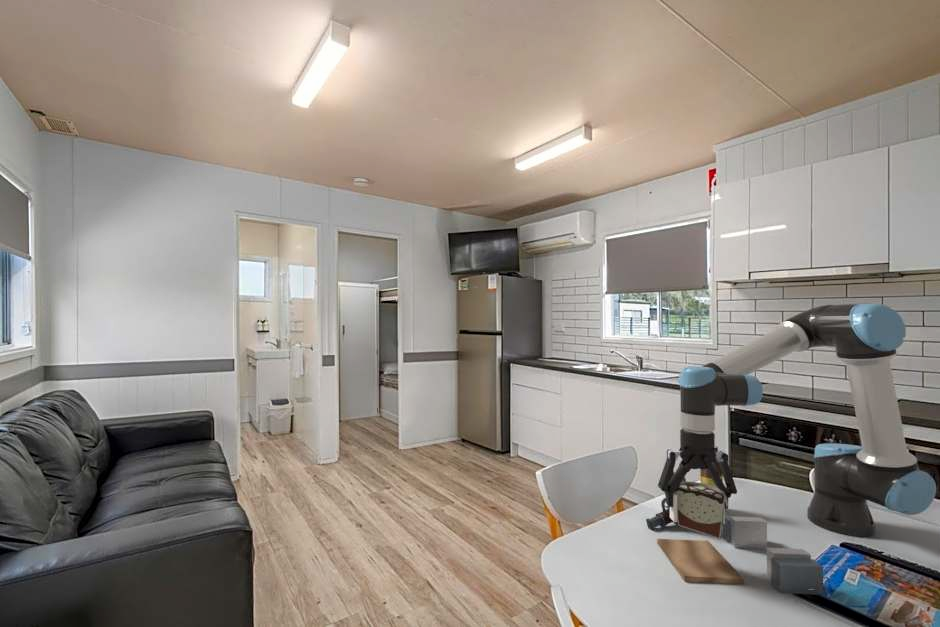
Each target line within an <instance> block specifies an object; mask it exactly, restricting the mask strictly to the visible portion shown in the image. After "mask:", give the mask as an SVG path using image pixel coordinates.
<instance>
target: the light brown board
mask: <svg viewBox="0 0 940 627" xmlns="http://www.w3.org/2000/svg"><path fill="white" fill-rule="evenodd" d="M656 543H657V544H656V545H658V546H659V548H660V549H661V551H662V552H663V554H664V555H665V556H666V558H667V560H669V562H670V563H671V565H672V566H673V568H674V569H675V570H676V572H677V574H678V575H679V576H680V578H681V579H682V580H683V581H684V582H685V583H687V582H688V583H690V582H691V583H710V584H711V583H712V584H732V585H735V584H736V585H745V578H744V577H743V576H742V574H740V573H739V571H737V570H736V569H735V568H734V566H733V565H732V564H731V563H730V562H729V561H728V560H727V559H726V558H725V557H724V556H723V554H721V553H720V552H719V550H717V549H716V547H715V546H713V544H712V543H711V542H710V541H709V540H697V539H675V538H674V539H672V538H657V539H656Z"/></svg>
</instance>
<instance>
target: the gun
mask: <svg viewBox="0 0 940 627" xmlns="http://www.w3.org/2000/svg"><path fill="white" fill-rule="evenodd" d="M674 473H675V471H674V469H673V472H672V475H671V478H672V476H673V475H674ZM671 478H670V479H671ZM681 482H687V479H686V476H685V477H684V478H683V480H682V481H681ZM663 492H664V496H665V497H664V498H663V499H662V500H661V503H660V506H661V510H662V511H661V512H659V513H655V516H653V517H651V518H649V517H647V518H646V519H645V521H646V525H647V528H648V529H649V530H651V531H652V530H654V529H655V528H657V527H659V526H660V527H662V528H665V527H667V525H669V524H671V523H673V524H675V525H676V526H678V521H677V522H673V520H672V519H671V518H670V507H669V506H668V505H665V504H666V492H665V491H663ZM674 493H675V492H674ZM679 527H680V528H682V527H681V526H679Z"/></svg>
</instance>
